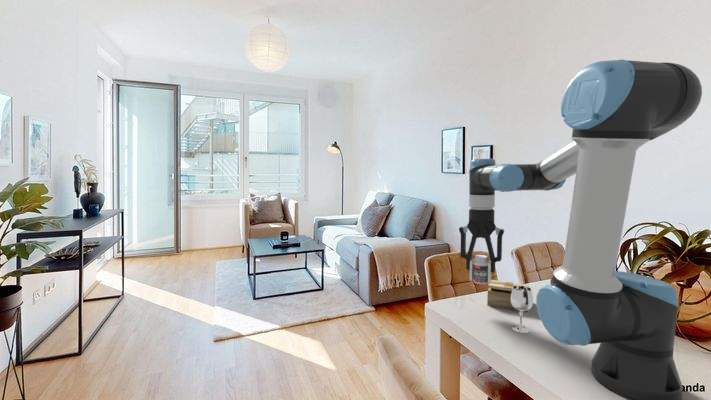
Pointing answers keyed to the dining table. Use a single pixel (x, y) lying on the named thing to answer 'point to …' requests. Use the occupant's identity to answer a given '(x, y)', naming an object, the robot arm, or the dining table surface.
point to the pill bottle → (480, 269)
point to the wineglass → (521, 304)
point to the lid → (504, 285)
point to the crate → (499, 298)
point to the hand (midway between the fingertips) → (480, 280)
